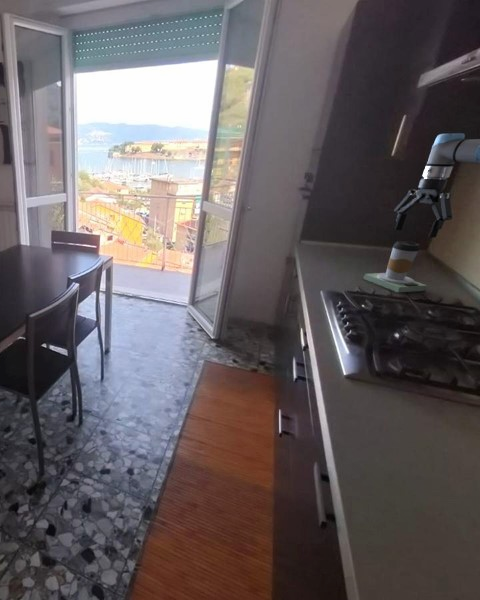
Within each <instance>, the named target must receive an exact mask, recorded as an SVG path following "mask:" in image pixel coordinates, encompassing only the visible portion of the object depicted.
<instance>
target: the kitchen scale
mask: <svg viewBox="0 0 480 600" xmlns="http://www.w3.org/2000/svg"><path fill="white" fill-rule="evenodd" d="M363 280H365V281H367V282H370V283H372V284H375V285H378V286H380V287H383V288H385V289H386V290H387V289H388V290H390V291H392V292H395V293H397V294H399V293H412V292H425V291H426V289H427V287H428V285H427V284H424V283H421V282H418V281H416V280H414V279H413V278H412V277H409V276H407V275H406V276H405V278H404V279H403V280H395V279H390V278H388V277H386V272H374V273H365V274H364V276H363Z"/></svg>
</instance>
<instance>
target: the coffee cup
mask: <svg viewBox="0 0 480 600" xmlns="http://www.w3.org/2000/svg"><path fill="white" fill-rule="evenodd" d="M419 251H420V244H419V243H418V242H417V243H416V242H413V241H407V240H396V242H395V243H394V244H393V246H392V249H391V254H390V257H389V259H388V263H387V267H386V272H385V273H386V277H388V278H390V279H395V280H403V279H404V278H405V276H406V277H407V275H408V272H409V271H410V269H411V267H412V265H413V263H414V260H415V258H416V257H417V254H418V252H419Z"/></svg>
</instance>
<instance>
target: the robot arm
mask: <svg viewBox="0 0 480 600" xmlns="http://www.w3.org/2000/svg"><path fill="white" fill-rule="evenodd" d="M465 136H466V135H465V133H460V132H459V133H440V134H438V135H437V136H436V137H435V140H434V143H433V144H432V146H431V150H430V153H429V156H428V159H427V161H426V165H425V167H424V170H423V172H422V175H421V177H422V178H421V179H420V180H419V183H418V186H417V188H418V190H417V189H409V190H408V192H407V194H406V195H405V197H404V198H403V199H402V200H401V201H400V203H398V205H396V207H395V208H394V209H393V211H394V212H396V213H397V216H396V219H395V222H396V223H395V226H394V231H402V229H403V227H404V224H405V221H406V218H407V216H408V214H407V212H409V211H410V210H412V209H413V208H414V207H416V206H417V205H419V204H425V205H429V206H431V208H432V211H433V214H434V216H435V218H436V219H434V220H433V223H432V225H431V228H430V231H429V233H428V235H427V238H429V239H432V238H434V239H435V238H437V235H438V232H439V231H440V230H442V228H443V226H444V223H445V221H451V220H452V219H453V213H452V212H453V211H452V206H451V205H452V204H451V197H452V193H451V192H443V191H444V190H445V188H446V186H447V183H448V178H449V177H451V173H452V171H453V169H454V165H455V163H476V164H477V163H478V164H479V163H480V138H474V139H473V138H471V139H468V138H465ZM415 196H416V197H415Z"/></svg>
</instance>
